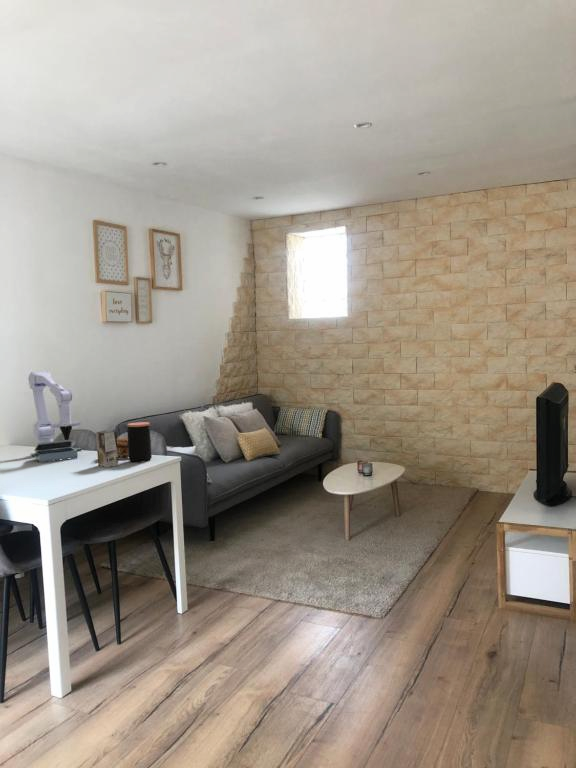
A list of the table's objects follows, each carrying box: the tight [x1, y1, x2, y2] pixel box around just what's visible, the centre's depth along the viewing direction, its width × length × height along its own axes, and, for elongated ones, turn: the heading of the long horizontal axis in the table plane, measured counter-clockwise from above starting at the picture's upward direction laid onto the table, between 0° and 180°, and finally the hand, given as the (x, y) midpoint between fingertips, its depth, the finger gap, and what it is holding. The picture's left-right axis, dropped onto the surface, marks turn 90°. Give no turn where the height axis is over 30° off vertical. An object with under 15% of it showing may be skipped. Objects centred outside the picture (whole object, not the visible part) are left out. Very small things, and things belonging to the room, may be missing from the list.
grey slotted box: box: [29, 446, 82, 463], centre depth 322 cm, size 14×24×4 cm, turn 120°
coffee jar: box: [126, 421, 153, 463], centre depth 304 cm, size 11×11×18 cm
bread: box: [117, 436, 129, 459], centre depth 317 cm, size 19×11×10 cm, turn 110°
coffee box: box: [95, 429, 119, 468], centre depth 295 cm, size 9×6×16 cm
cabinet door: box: [34, 438, 78, 452], centre depth 322 cm, size 15×19×2 cm
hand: (66, 441), depth 321 cm, fingers closed, pressing on cabinet door
